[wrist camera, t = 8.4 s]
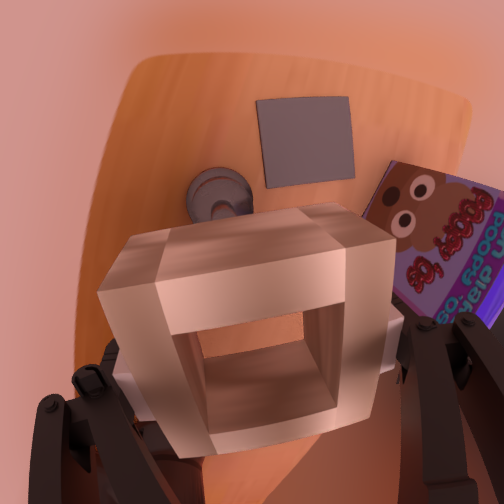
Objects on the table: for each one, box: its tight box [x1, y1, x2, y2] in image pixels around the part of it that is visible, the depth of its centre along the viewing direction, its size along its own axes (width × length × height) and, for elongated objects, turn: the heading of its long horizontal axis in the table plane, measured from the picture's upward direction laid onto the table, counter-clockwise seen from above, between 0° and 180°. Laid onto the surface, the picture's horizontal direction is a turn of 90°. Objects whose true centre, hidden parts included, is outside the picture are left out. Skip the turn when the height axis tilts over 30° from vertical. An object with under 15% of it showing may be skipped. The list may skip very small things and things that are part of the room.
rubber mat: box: [256, 97, 355, 189], centre depth 36 cm, size 12×11×1 cm
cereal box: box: [362, 161, 504, 330], centre depth 31 cm, size 17×5×24 cm, turn 153°
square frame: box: [97, 202, 396, 458], centre depth 12 cm, size 9×9×5 cm
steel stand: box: [186, 167, 253, 224], centre depth 32 cm, size 8×8×13 cm
